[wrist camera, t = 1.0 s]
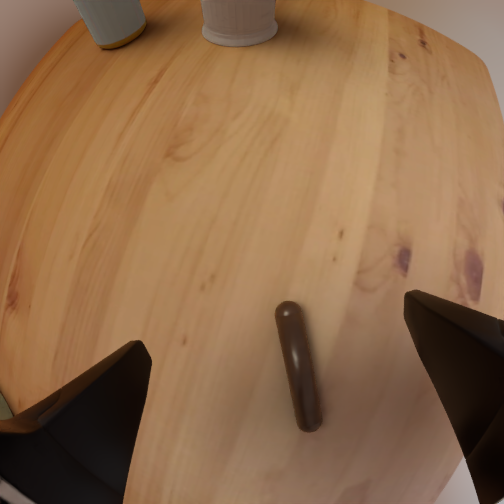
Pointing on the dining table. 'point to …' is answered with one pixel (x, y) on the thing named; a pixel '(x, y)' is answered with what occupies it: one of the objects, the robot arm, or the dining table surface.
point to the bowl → (4, 409)
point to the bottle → (112, 20)
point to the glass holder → (238, 21)
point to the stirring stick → (298, 366)
